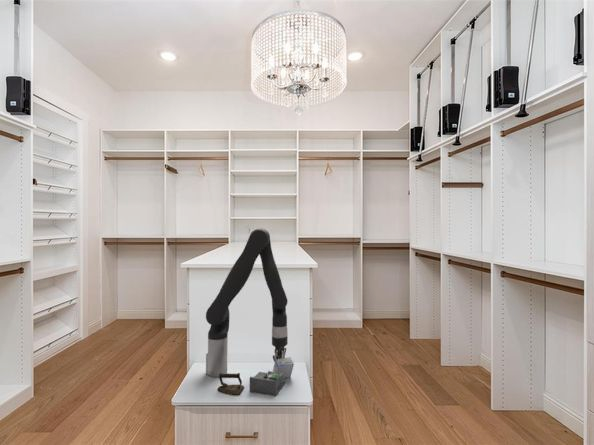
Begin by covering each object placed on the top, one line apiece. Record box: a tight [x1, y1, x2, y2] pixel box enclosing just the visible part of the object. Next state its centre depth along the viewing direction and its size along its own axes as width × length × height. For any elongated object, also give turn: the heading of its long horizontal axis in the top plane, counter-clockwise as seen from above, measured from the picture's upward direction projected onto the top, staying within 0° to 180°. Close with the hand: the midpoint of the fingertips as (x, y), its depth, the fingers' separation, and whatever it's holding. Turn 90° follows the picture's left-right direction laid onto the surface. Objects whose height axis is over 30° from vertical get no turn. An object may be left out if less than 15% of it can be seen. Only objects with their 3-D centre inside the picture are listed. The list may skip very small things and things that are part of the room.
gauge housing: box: [249, 371, 286, 397], centre depth 146 cm, size 12×11×6 cm
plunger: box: [265, 370, 278, 380], centre depth 147 cm, size 7×9×4 cm
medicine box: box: [272, 356, 295, 380], centre depth 155 cm, size 8×4×9 cm, turn 115°
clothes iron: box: [217, 372, 245, 397], centre depth 143 cm, size 7×11×10 cm, turn 83°
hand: (279, 371), depth 160 cm, fingers closed
